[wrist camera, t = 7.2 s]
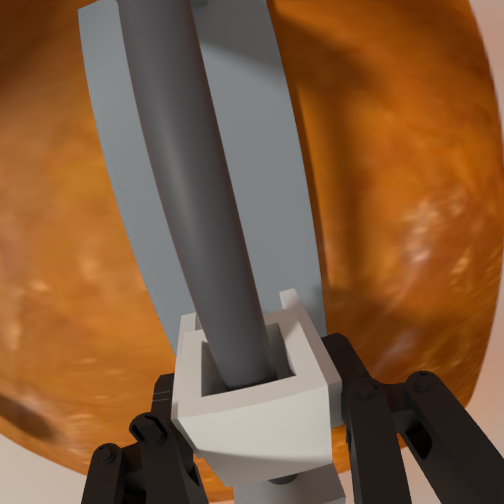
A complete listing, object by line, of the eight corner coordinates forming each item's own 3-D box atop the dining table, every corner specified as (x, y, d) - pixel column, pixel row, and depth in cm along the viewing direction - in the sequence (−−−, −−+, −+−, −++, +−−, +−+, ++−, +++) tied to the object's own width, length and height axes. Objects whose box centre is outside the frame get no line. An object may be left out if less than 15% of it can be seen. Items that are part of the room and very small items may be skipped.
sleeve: (184, 333, 11) (177, 418, 7) (292, 307, 12) (327, 385, 8) (219, 412, 13) (226, 487, 9) (306, 392, 13) (332, 463, 10)
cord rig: (82, 13, 11) (-32, -73, 1) (252, -31, 12) (304, -168, 1) (213, 423, 23) (223, 547, 12) (329, 395, 24) (378, 510, 13)
